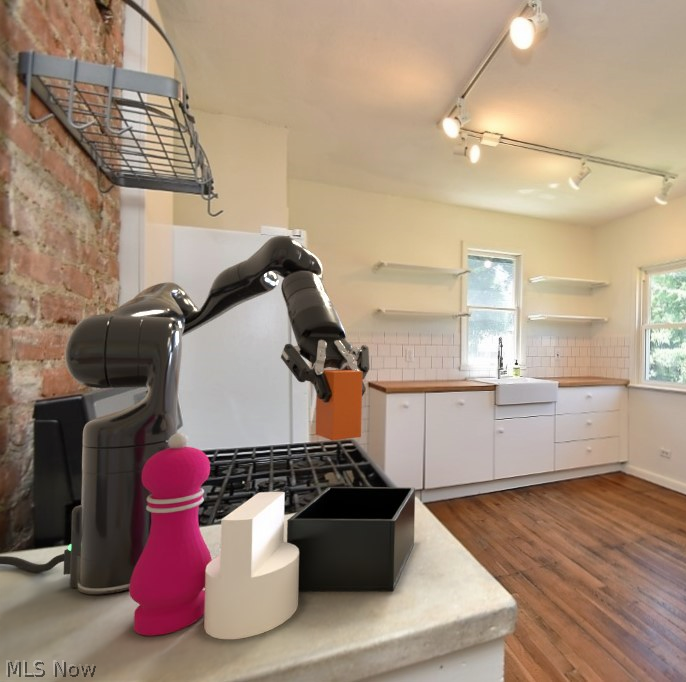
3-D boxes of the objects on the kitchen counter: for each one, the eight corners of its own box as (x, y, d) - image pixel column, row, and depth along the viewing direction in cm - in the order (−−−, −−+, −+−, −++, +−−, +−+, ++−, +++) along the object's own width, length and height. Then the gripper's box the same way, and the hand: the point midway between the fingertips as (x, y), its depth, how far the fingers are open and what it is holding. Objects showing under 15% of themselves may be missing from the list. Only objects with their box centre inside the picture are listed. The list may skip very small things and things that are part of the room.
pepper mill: (170, 643, 45) (178, 441, 45) (108, 635, 46) (116, 437, 46) (227, 603, 52) (233, 429, 52) (171, 597, 53) (178, 426, 53)
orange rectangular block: (332, 440, 65) (334, 372, 66) (315, 434, 70) (316, 370, 70) (361, 437, 69) (362, 371, 69) (342, 431, 73) (344, 369, 73)
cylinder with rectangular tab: (279, 636, 46) (282, 519, 46) (184, 642, 45) (187, 521, 45) (309, 589, 55) (311, 491, 55) (230, 592, 54) (233, 492, 54)
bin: (285, 591, 54) (287, 520, 55) (327, 544, 67) (328, 486, 68) (393, 591, 55) (394, 520, 55) (414, 544, 68) (415, 487, 68)
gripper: (348, 337, 84) (378, 409, 75) (263, 334, 74) (287, 417, 65) (362, 307, 80) (396, 379, 71) (275, 300, 70) (302, 383, 61)
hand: (344, 397), depth 68 cm, fingers closed on orange rectangular block, 4 cm apart
